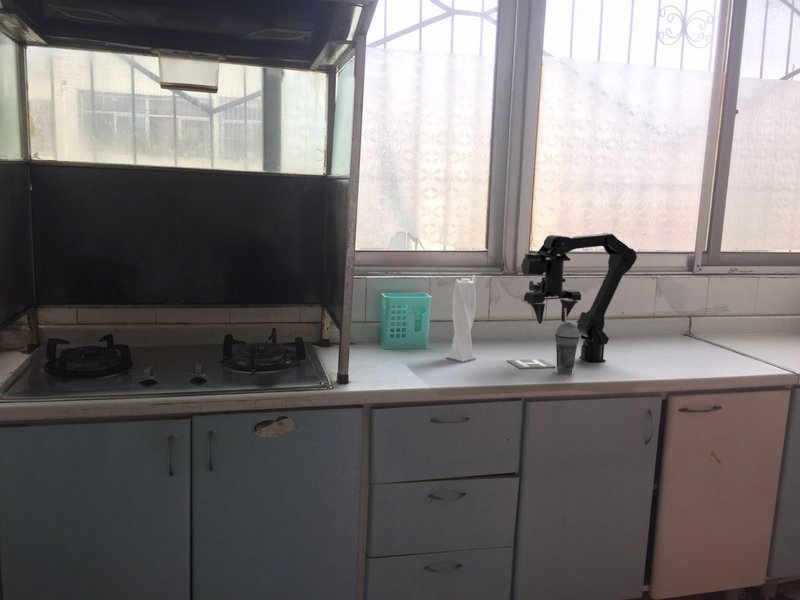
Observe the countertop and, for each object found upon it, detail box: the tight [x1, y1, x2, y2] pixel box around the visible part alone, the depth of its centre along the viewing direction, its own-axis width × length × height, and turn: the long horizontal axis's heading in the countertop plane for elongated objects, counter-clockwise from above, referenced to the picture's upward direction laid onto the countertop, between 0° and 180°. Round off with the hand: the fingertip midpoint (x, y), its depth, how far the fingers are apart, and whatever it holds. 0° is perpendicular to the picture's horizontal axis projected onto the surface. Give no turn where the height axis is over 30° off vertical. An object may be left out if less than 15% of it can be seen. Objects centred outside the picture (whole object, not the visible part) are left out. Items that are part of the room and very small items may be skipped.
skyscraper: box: [445, 274, 477, 363], centre depth 221 cm, size 8×8×28 cm
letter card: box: [506, 358, 556, 370], centre depth 220 cm, size 12×10×1 cm
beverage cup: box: [554, 308, 580, 375], centre depth 209 cm, size 7×7×20 cm
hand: (551, 322), depth 223 cm, fingers open, 9 cm apart
